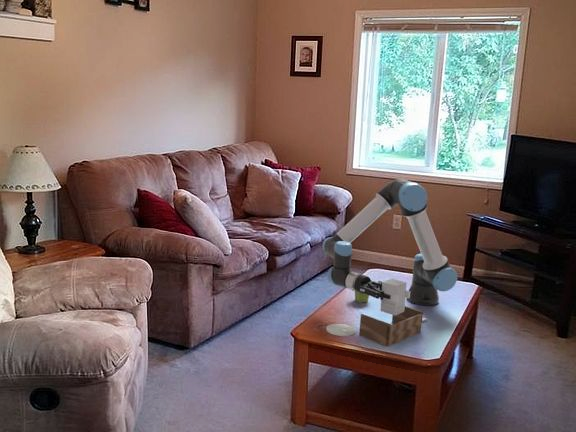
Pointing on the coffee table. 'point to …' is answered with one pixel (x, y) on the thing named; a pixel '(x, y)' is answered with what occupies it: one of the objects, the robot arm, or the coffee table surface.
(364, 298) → the plant pot
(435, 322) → the coffee table surface
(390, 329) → the walnut cubby
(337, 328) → the cream coaster
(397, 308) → the supplement box
